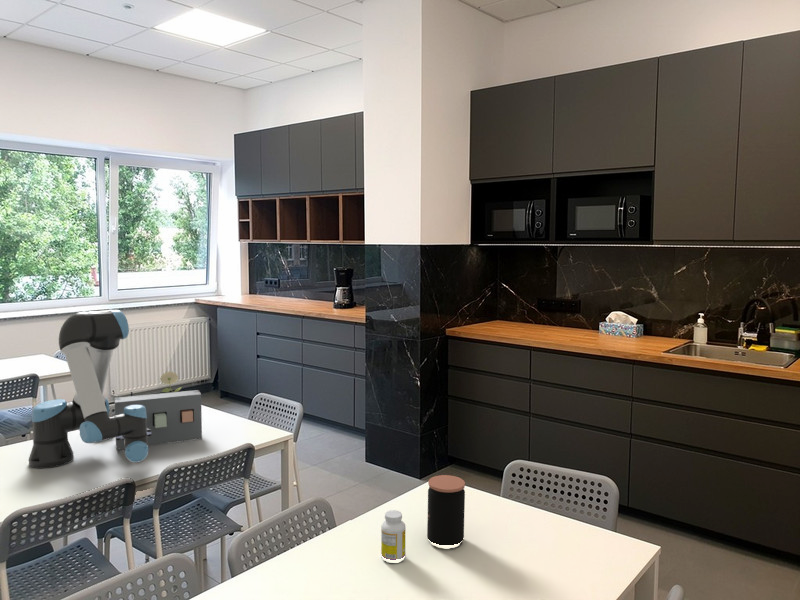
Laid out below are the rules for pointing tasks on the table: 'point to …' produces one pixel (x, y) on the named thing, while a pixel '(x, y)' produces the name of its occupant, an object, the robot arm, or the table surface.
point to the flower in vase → (169, 380)
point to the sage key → (160, 420)
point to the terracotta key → (186, 415)
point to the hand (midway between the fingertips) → (131, 423)
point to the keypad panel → (171, 407)
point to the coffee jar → (446, 510)
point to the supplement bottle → (393, 536)
